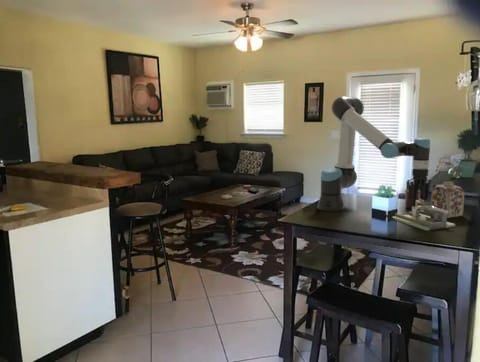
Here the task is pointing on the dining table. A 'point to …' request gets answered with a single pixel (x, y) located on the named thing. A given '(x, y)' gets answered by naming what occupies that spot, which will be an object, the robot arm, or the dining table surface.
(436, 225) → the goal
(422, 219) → the ball
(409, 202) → the mug
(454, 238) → the dining table surface
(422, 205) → the white arched piece
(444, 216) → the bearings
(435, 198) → the decorative jar
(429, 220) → the pitch
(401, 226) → the dining table surface
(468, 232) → the dining table surface
